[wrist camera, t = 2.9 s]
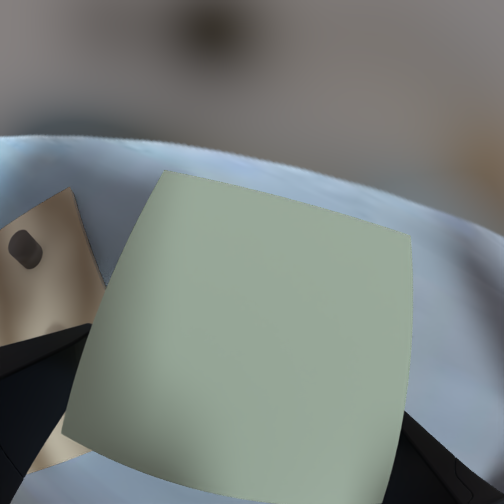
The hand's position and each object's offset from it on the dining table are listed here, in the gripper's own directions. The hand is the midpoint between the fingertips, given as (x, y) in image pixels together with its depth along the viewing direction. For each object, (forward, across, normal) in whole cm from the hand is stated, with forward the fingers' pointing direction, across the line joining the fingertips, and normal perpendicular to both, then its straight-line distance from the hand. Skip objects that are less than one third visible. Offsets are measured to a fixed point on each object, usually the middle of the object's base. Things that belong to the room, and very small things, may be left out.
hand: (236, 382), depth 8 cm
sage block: (+6, 0, +6) cm, 8 cm away
